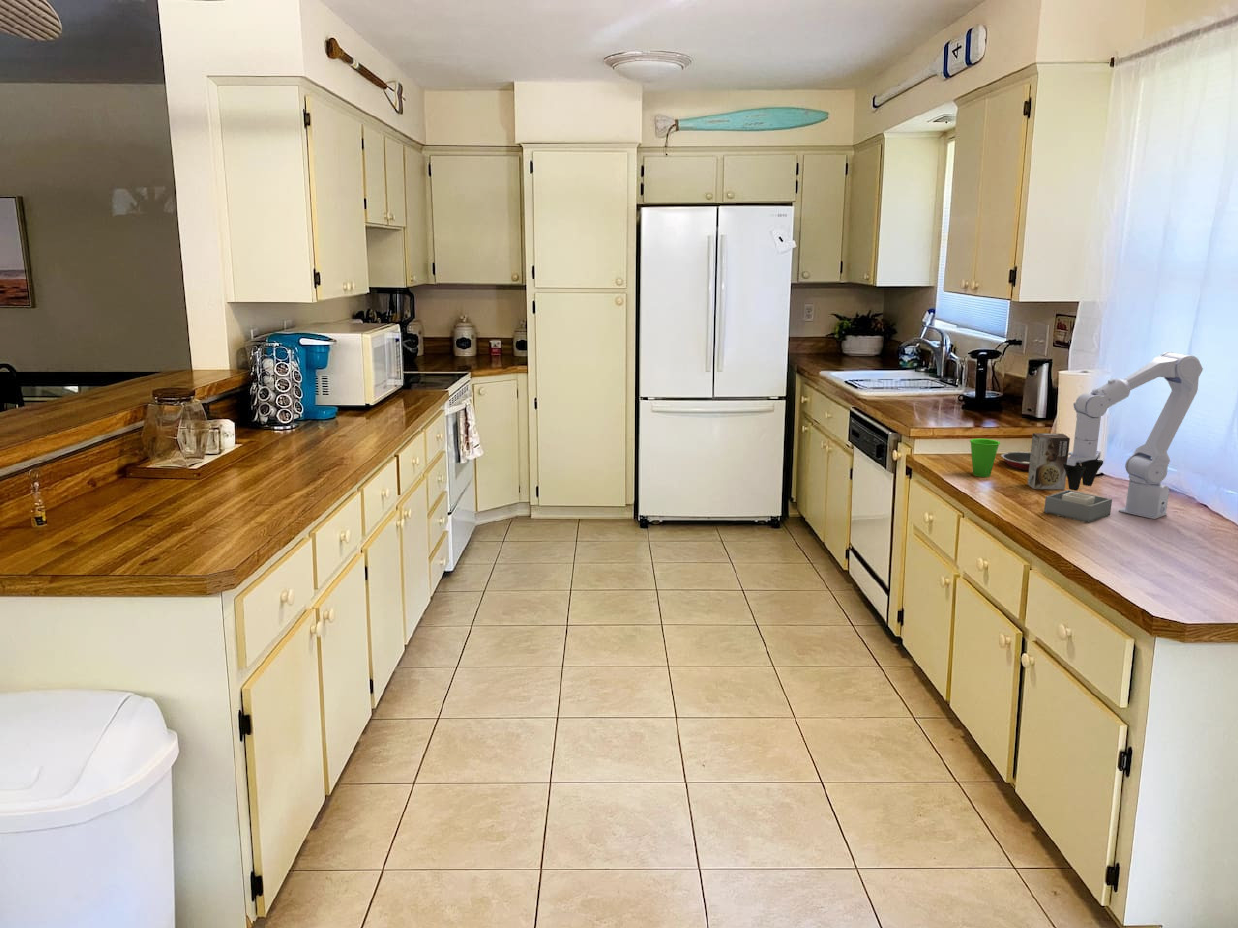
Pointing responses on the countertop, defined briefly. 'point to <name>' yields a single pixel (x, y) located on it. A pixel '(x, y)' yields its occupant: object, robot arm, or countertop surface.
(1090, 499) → the white crate
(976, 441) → the cup
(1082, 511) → the grey shallow square box
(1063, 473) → the coffee box
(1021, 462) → the frying pan
